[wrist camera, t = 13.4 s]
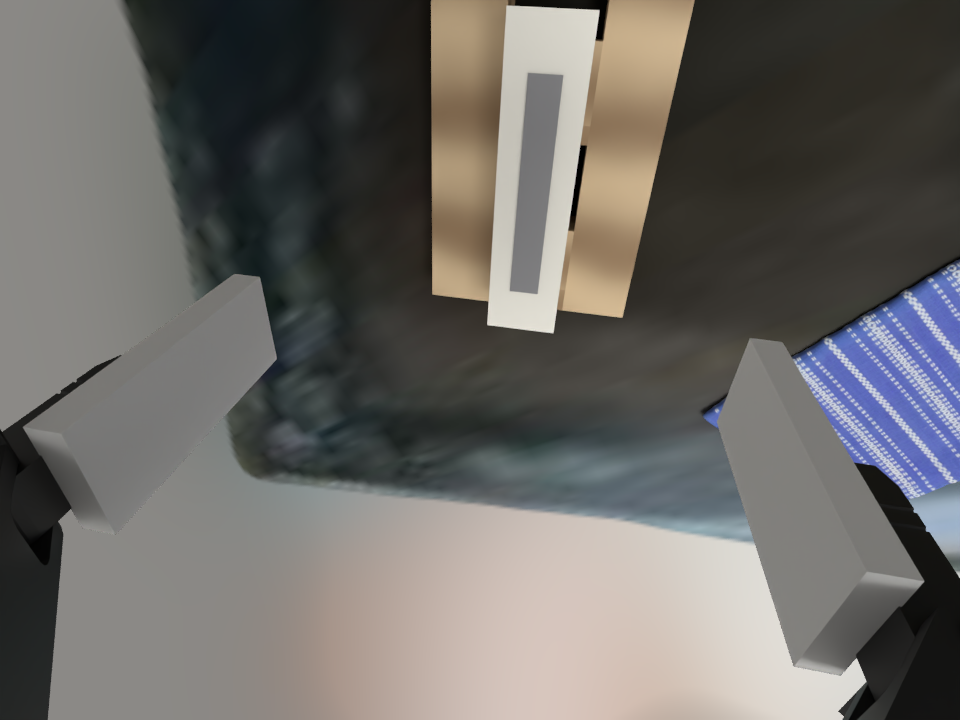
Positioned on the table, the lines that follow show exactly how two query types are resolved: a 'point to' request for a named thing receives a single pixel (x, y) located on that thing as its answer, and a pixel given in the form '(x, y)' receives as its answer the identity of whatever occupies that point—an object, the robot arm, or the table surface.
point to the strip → (537, 159)
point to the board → (606, 133)
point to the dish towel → (895, 384)
